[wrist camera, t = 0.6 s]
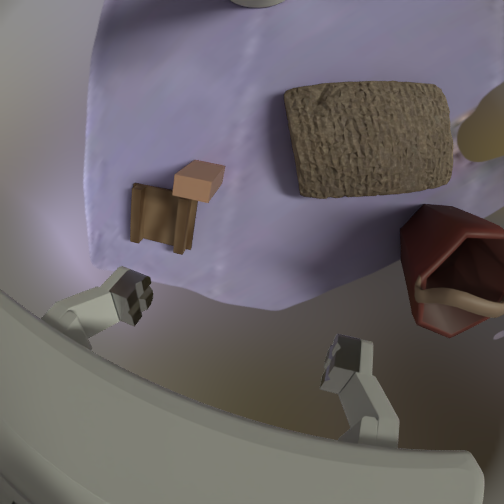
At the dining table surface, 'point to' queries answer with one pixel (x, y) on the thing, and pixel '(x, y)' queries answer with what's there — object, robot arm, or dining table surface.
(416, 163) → the stone tablet
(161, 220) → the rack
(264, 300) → the dining table surface
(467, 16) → the dining table surface
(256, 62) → the dining table surface
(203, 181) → the clay block
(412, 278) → the bucket
